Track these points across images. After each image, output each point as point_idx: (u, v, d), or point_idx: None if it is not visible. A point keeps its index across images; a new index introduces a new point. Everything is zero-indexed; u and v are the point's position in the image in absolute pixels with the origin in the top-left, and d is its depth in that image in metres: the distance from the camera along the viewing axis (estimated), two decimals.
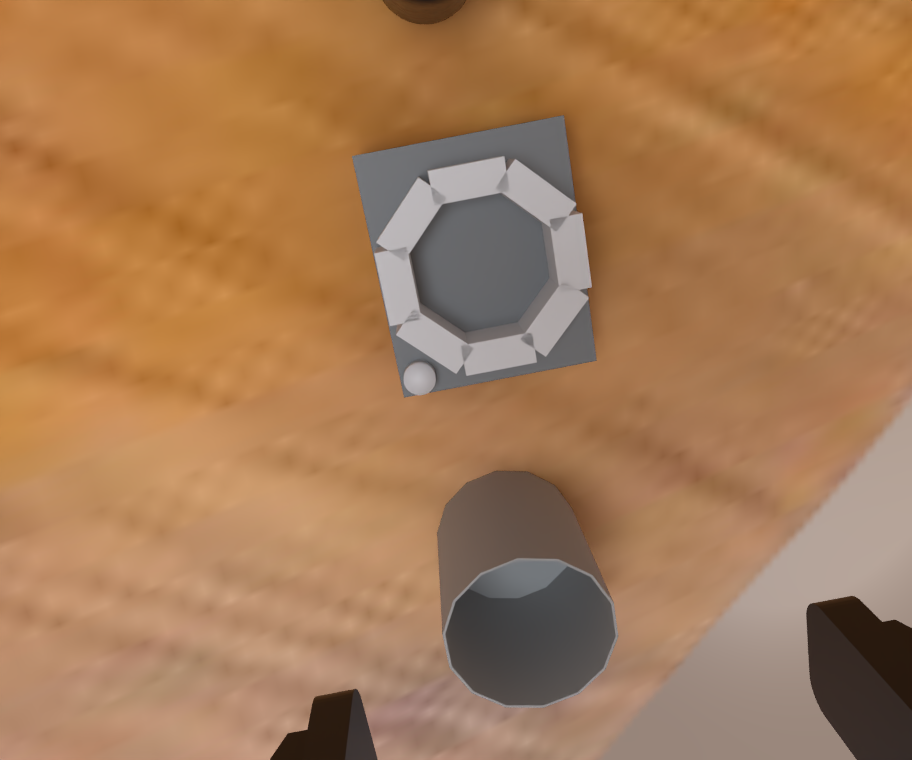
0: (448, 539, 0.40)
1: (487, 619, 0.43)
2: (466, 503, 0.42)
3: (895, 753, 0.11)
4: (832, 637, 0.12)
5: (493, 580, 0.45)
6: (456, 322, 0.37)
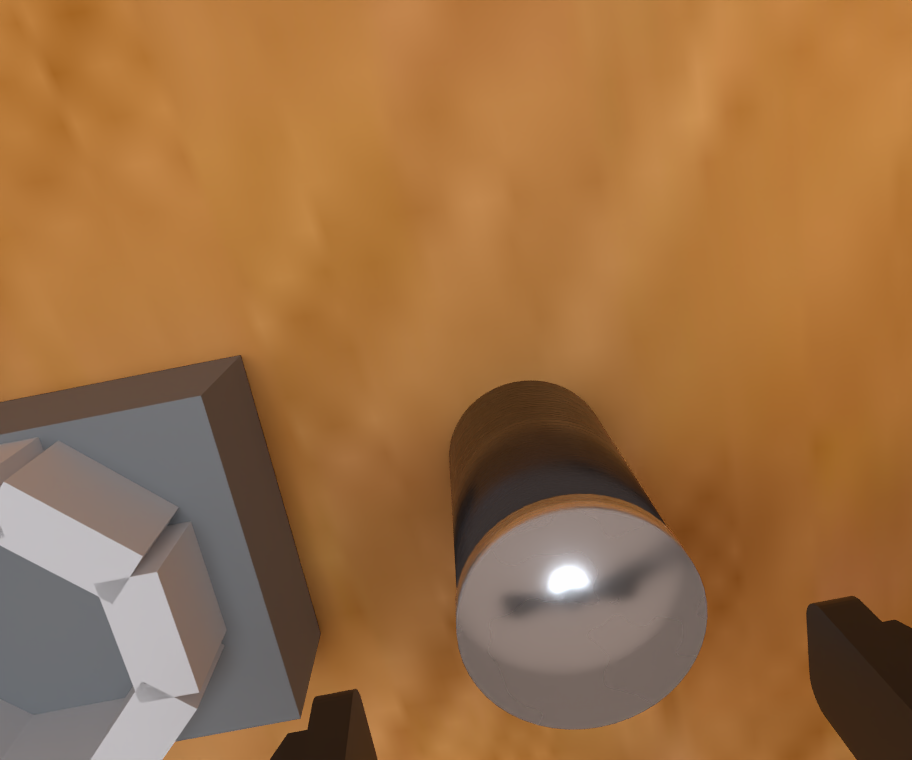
0: None
1: None
2: None
3: (895, 753, 0.11)
4: (832, 637, 0.12)
5: None
6: None
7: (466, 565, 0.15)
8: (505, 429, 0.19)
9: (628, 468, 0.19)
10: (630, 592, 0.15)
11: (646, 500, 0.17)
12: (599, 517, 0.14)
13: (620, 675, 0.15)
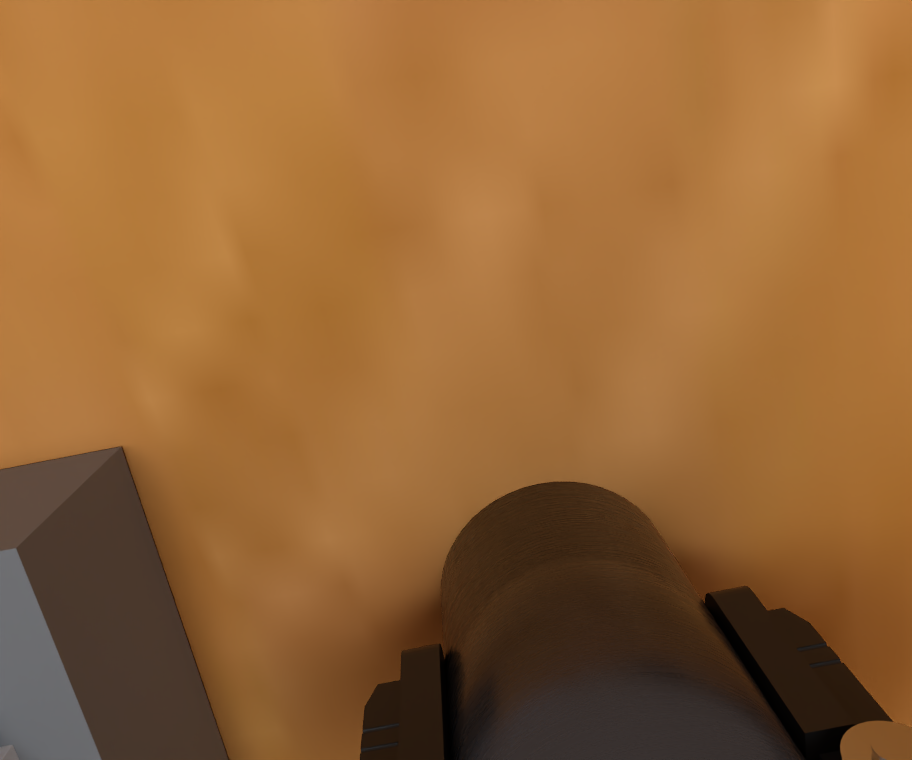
0: None
1: None
2: None
3: None
4: (722, 624, 0.13)
5: None
6: None
7: None
8: (536, 590, 0.12)
9: (745, 668, 0.11)
10: None
11: None
12: None
13: None
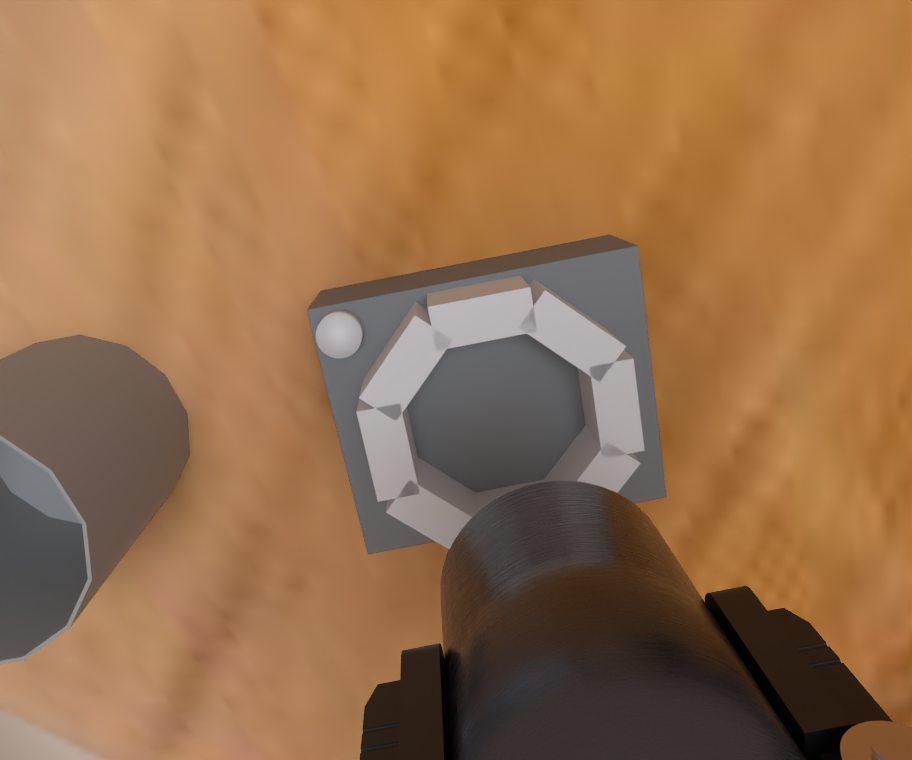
0: (83, 374, 0.27)
1: None
2: (140, 388, 0.29)
3: None
4: (722, 624, 0.13)
5: None
6: None
7: None
8: (535, 589, 0.12)
9: (745, 667, 0.11)
10: None
11: None
12: None
13: None
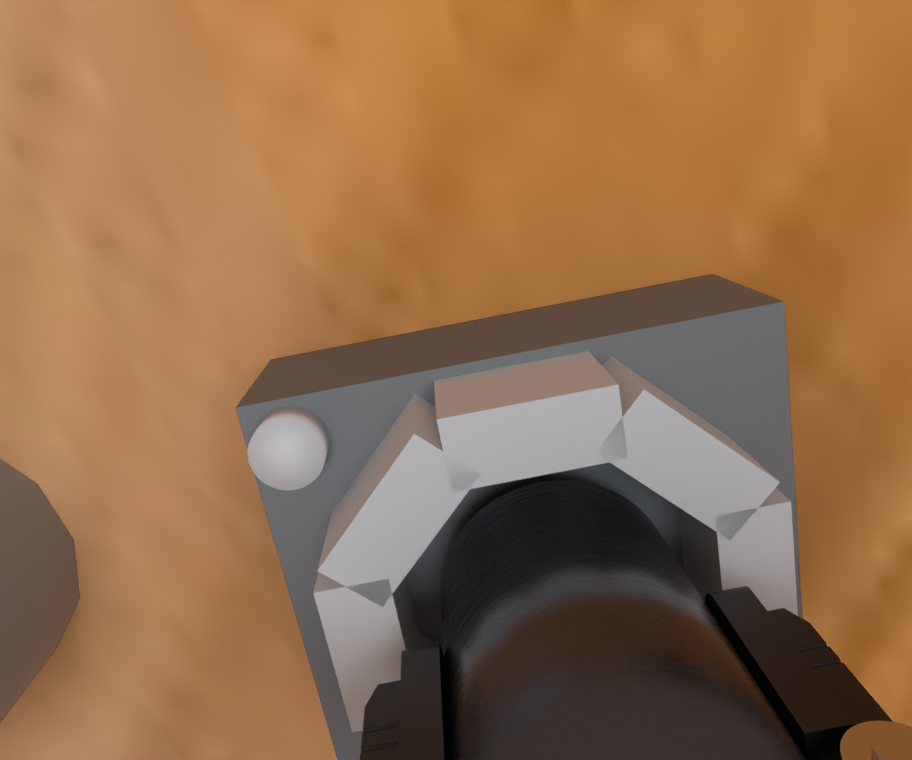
0: None
1: None
2: None
3: None
4: (722, 624, 0.13)
5: None
6: None
7: None
8: (535, 588, 0.12)
9: (745, 666, 0.11)
10: None
11: None
12: None
13: None
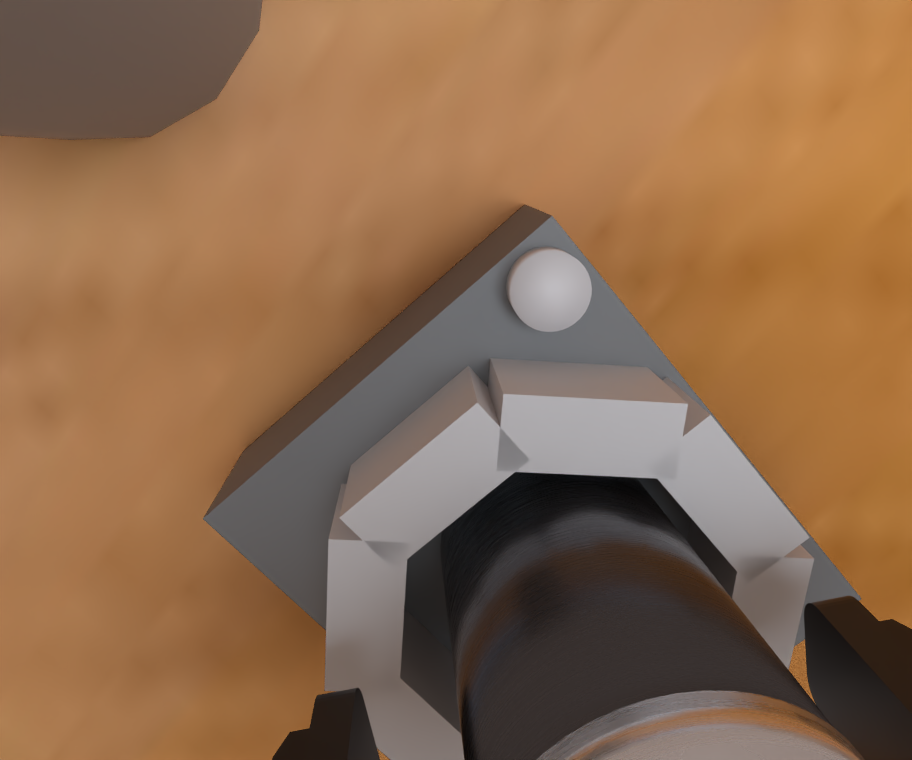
0: None
1: None
2: None
3: (892, 752, 0.11)
4: (829, 636, 0.12)
5: None
6: None
7: None
8: (543, 525, 0.13)
9: (733, 601, 0.12)
10: None
11: (794, 679, 0.10)
12: (766, 751, 0.08)
13: None
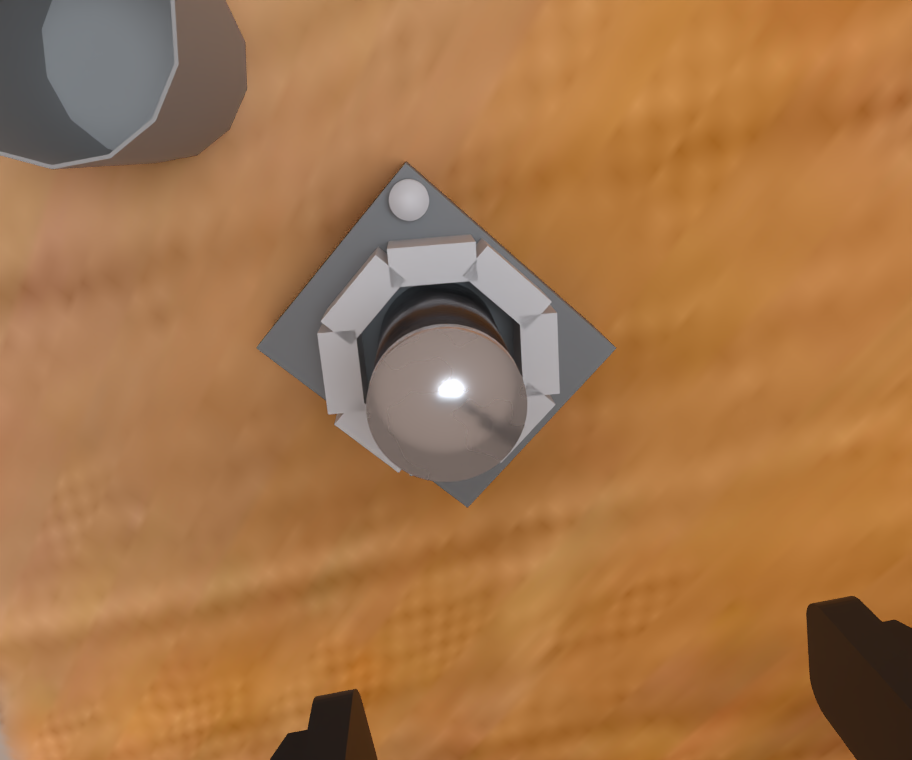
0: (221, 26, 0.28)
1: None
2: (234, 78, 0.30)
3: (895, 753, 0.11)
4: (832, 637, 0.12)
5: None
6: None
7: (371, 376, 0.24)
8: (408, 305, 0.28)
9: (491, 323, 0.27)
10: (475, 383, 0.23)
11: (493, 334, 0.25)
12: (449, 333, 0.23)
13: (476, 441, 0.24)
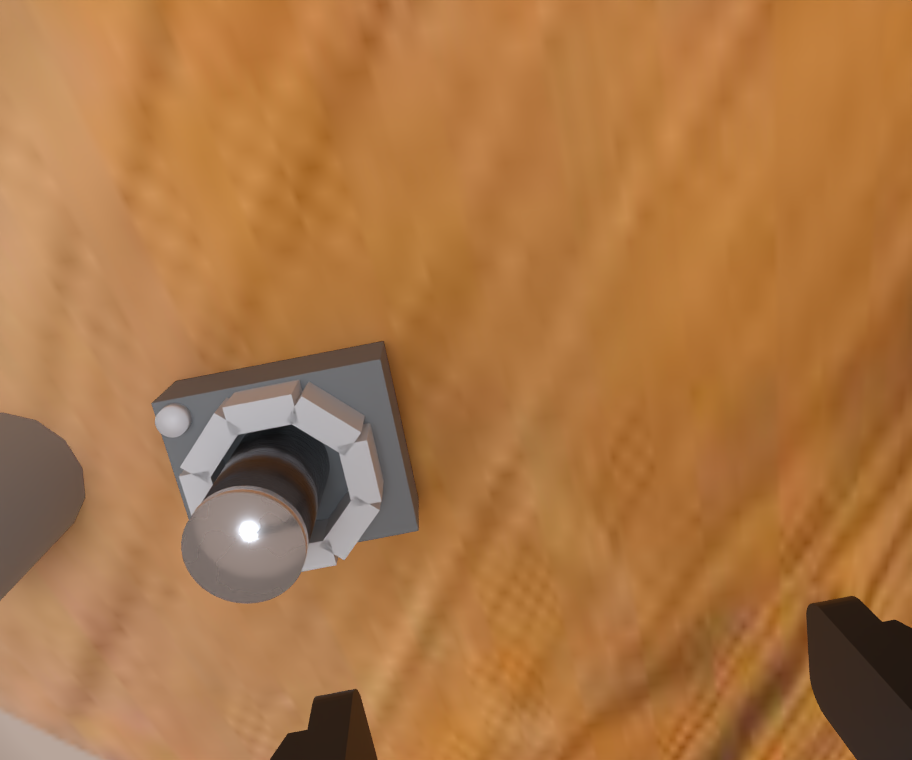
0: None
1: None
2: (41, 453, 0.40)
3: (895, 753, 0.11)
4: (832, 637, 0.12)
5: None
6: (231, 450, 0.39)
7: None
8: None
9: (255, 456, 0.34)
10: (239, 524, 0.30)
11: (239, 475, 0.32)
12: (195, 516, 0.30)
13: (280, 549, 0.31)
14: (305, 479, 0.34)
